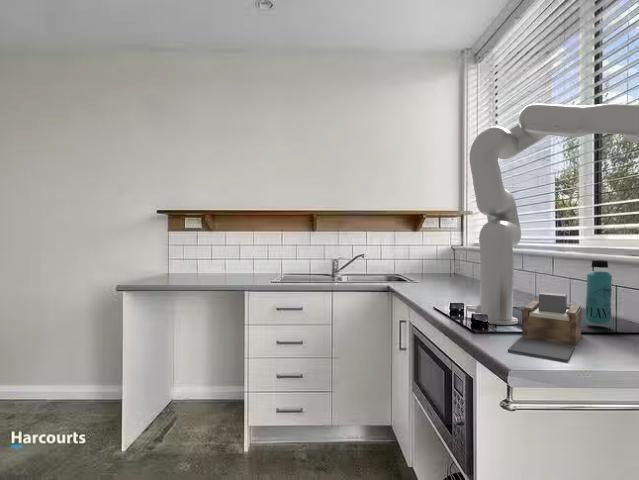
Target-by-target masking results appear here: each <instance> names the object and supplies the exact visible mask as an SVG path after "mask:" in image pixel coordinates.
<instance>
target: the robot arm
mask: <svg viewBox="0 0 639 480" xmlns="http://www.w3.org/2000/svg"><path fill="white" fill-rule="evenodd" d="M517 120H518V124H516V125H515V126H513V127H511V128H510V129H506V128H504V127H502V126H498V125H496V126H494V125H493V126H490V127H487V128H485V129H484V130H483V131H481V132H480V133H479V134H478V135H477V136H476V138H475V139H474V140H473V142H472V144H471V147H470V149H469V150H470V151H469V165H470V171H471V176H472V177H471V178H472V184H473V191H474V195H475V196H474V197H475V202H476V207H477V209H478V211H479V212H480V213H481V214H482V215H485V216H486V217H487V222H486V223H485V224H484V225H482V227H481V228H480V231H479V234H478V236H479V237H478V243H479V253H480V255H479V256H480V258H479V259H480V266H479V267H480V269H479V271H480V274H479V275H480V276H479V281H480V282H479V285H480V286H479V304H476V305H473V304H466V307H465V309H466V311H467V312H470V313H471V312H472V313H475V314H477V313H481V314H487V315H488V321H489V324H491V325H499V326H510V325H511V326H512V325H517V324H518V322H519V320H518V318H517V317H515V316H513V312H514V311H513V308H514V307H513V305H514V303H513V302H514V270H515V269H514V251H513V250H514V248H515V247H517V245H518V244H519V243H520V241H521V238H522V230H521V225H520V220H519V214H518V210H517V204H516V200H515V198H514V196H513V194H512V193H511V192H510V191H509V190H507V189H505V186H504V182H503V176H502V172H501V168H500V163H499V159H500V160H508V159H512V158H513V157H516V156H517V155H519V154H521V153H522V152H524V151H526V150H527V149H529V148H530V147H532V146H534V145H535V144H536V143H538V142H540V141H541V140H543V139H544V138H546V137H547V136H556V137H567V138H582V137H584V136H587V135H592V134H593V135H595V134H607V135H621V136H624V138H625V139H626V140H627V141H629V142H630V143H633V144H639V104H624V103H605V104H603V103H601V104H592V105H566V104H550V103H547V104H546V103H533V104H527V105H526V106H524V107H523V109H522V110H520V112H519V115H518V119H517Z"/></svg>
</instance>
